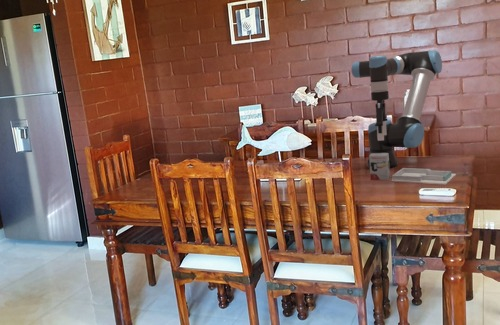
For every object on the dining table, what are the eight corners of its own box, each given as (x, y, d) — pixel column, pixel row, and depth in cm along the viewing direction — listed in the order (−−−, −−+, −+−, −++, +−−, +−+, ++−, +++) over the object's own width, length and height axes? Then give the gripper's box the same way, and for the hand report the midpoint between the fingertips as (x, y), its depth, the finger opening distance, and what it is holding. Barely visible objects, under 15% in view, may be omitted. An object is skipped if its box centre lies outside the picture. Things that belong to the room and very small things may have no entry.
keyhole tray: (404, 172, 243) (403, 167, 242) (456, 175, 228) (455, 169, 228) (391, 181, 231) (391, 176, 230) (445, 184, 216) (445, 178, 216)
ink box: (370, 180, 237) (368, 155, 235) (371, 177, 242) (370, 153, 239) (389, 179, 234) (387, 155, 232) (390, 177, 239) (388, 152, 236)
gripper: (374, 89, 239) (376, 133, 243) (367, 94, 216) (370, 143, 220) (390, 87, 237) (392, 132, 241) (385, 92, 214) (388, 142, 218)
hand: (382, 137), depth 231 cm, fingers open, 13 cm apart
